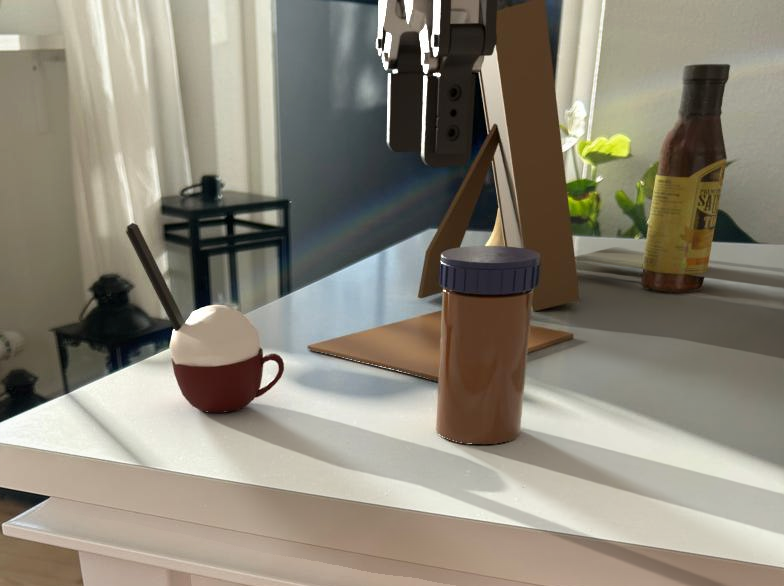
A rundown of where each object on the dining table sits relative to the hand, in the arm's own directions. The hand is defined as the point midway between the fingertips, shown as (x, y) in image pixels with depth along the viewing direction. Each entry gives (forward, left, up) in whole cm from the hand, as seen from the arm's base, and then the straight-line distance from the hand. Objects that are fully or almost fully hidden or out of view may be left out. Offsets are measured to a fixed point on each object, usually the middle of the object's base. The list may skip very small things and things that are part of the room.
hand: (425, 158), depth 51 cm
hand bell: (-63, -38, -17) cm, 75 cm away
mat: (-25, -18, -17) cm, 35 cm away
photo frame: (-46, -29, -17) cm, 57 cm away
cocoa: (-1, -19, -17) cm, 26 cm away
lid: (-9, -2, -6) cm, 11 cm away
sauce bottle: (-58, -15, -17) cm, 62 cm away
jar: (-9, -2, -17) cm, 19 cm away
